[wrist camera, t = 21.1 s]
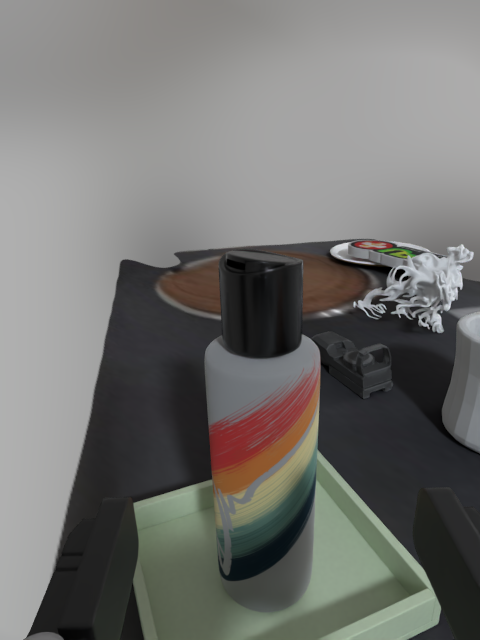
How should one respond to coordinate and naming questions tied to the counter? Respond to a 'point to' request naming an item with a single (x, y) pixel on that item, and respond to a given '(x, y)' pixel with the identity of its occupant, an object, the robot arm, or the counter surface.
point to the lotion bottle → (263, 430)
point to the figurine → (424, 286)
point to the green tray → (323, 590)
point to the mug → (465, 385)
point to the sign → (384, 252)
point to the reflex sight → (354, 364)
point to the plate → (342, 254)
